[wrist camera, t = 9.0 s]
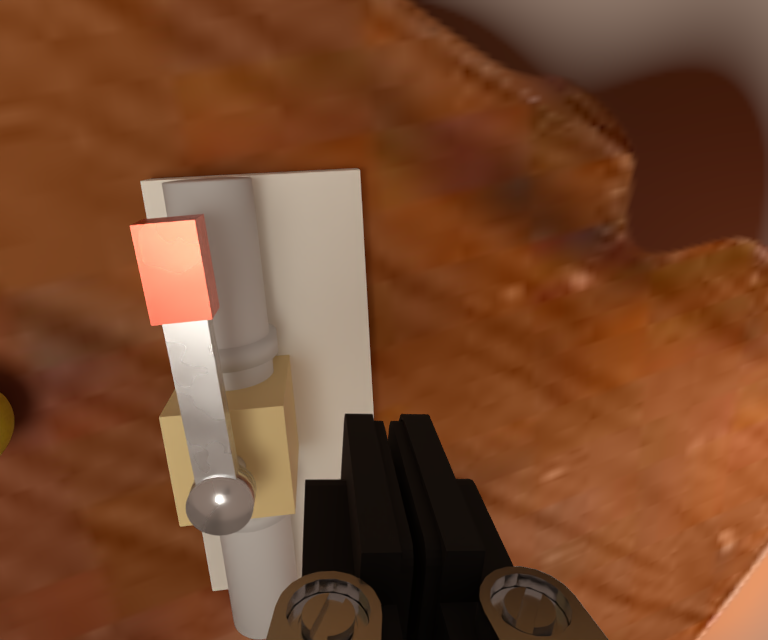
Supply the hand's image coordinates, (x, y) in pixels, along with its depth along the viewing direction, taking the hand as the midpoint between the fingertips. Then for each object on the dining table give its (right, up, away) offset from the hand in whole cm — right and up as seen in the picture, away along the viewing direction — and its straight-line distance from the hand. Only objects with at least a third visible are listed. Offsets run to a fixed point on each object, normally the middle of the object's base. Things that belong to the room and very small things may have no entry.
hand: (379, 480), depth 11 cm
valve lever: (-8, +1, +14) cm, 16 cm away
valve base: (-7, -1, +26) cm, 27 cm away
